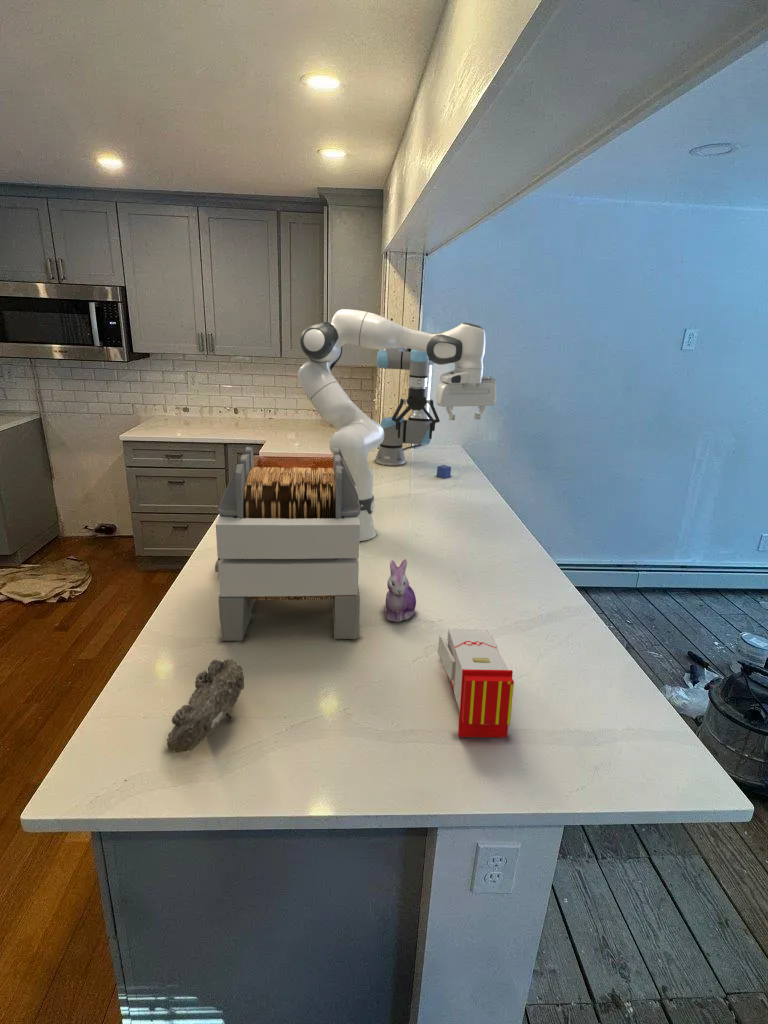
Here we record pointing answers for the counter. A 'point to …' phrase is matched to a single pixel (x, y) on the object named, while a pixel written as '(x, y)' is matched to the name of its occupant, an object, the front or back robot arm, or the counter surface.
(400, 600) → the figurine
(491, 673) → the toy
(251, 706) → the counter surface
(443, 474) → the block
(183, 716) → the fossil
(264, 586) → the transformer
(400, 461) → the back robot arm
